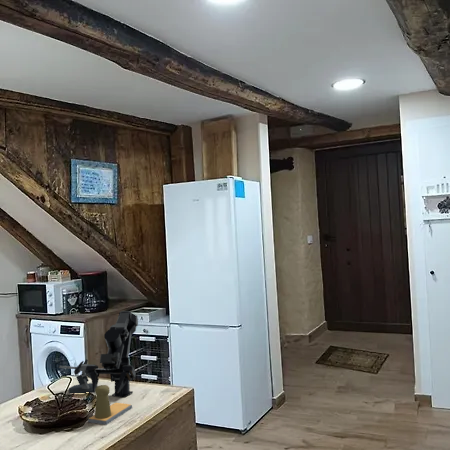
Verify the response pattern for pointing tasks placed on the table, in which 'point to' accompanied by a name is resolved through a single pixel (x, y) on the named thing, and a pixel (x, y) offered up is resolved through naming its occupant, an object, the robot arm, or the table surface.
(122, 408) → the floor panel
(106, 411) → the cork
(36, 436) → the table surface
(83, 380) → the gun turret
